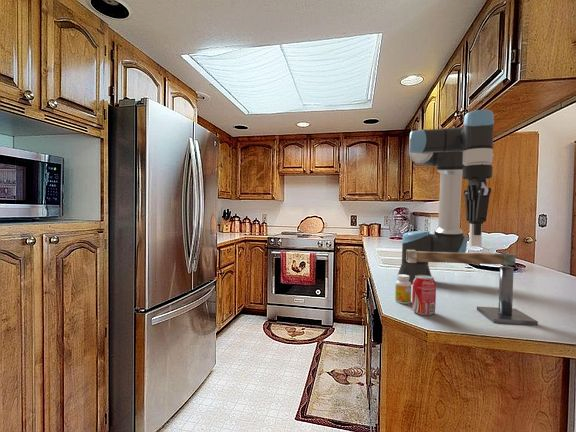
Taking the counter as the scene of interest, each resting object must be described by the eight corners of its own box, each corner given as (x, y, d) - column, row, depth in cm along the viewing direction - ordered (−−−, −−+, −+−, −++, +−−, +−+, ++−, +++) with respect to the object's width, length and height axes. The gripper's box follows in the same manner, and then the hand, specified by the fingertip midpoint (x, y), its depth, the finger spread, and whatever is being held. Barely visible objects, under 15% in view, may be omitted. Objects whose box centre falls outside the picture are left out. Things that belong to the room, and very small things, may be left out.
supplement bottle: (392, 300, 119) (392, 274, 118) (403, 299, 121) (404, 273, 120) (402, 304, 114) (402, 277, 113) (414, 303, 116) (414, 276, 115)
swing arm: (510, 264, 103) (511, 252, 103) (518, 266, 99) (518, 254, 99) (406, 260, 108) (406, 249, 108) (408, 262, 104) (409, 251, 104)
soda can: (415, 308, 110) (416, 273, 110) (437, 312, 106) (438, 276, 105) (408, 313, 105) (409, 276, 104) (431, 318, 100) (432, 280, 100)
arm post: (476, 309, 109) (478, 263, 108) (515, 312, 107) (517, 264, 106) (493, 322, 97) (495, 270, 96) (537, 325, 95) (539, 271, 94)
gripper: (502, 161, 86) (500, 249, 87) (481, 168, 99) (479, 244, 100) (472, 162, 87) (470, 248, 88) (455, 168, 100) (453, 243, 101)
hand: (475, 246), depth 94 cm, fingers closed
